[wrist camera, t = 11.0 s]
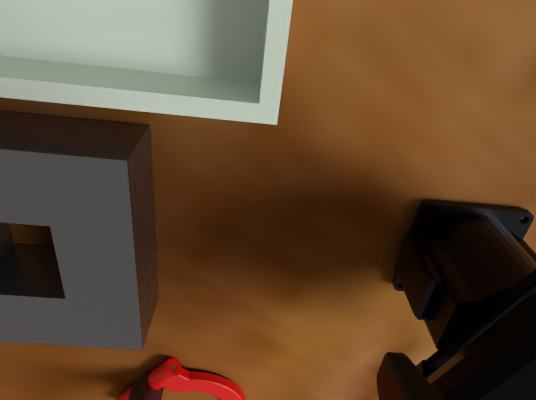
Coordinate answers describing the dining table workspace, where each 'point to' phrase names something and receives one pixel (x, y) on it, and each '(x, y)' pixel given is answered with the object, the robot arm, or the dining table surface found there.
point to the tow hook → (180, 383)
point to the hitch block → (77, 232)
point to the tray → (148, 55)
